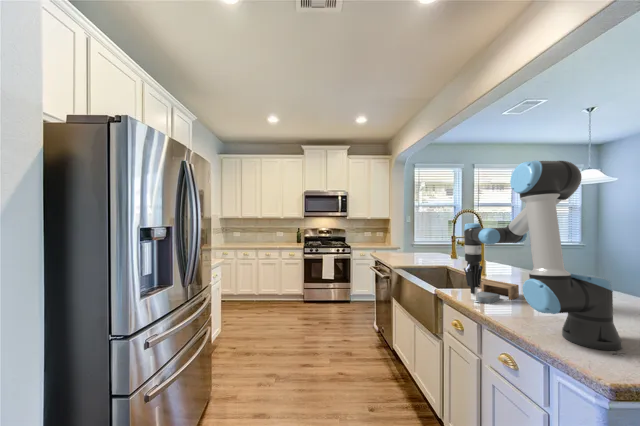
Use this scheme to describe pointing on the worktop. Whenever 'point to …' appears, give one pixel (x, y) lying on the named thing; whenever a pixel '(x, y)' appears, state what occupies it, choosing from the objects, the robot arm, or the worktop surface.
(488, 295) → the tile
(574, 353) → the worktop surface
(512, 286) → the tan wooden channel
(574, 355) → the worktop surface
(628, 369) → the worktop surface
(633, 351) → the worktop surface
